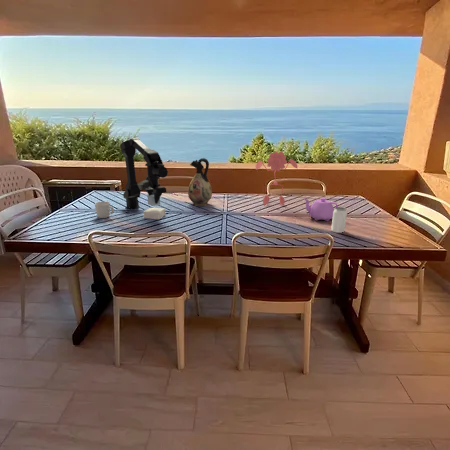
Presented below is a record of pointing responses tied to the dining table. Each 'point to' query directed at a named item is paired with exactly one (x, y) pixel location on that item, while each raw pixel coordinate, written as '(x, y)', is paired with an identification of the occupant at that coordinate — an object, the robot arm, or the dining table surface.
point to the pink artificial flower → (275, 163)
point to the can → (339, 220)
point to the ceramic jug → (200, 185)
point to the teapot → (321, 209)
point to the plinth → (154, 213)
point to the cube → (152, 200)
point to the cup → (103, 209)
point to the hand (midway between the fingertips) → (154, 202)
